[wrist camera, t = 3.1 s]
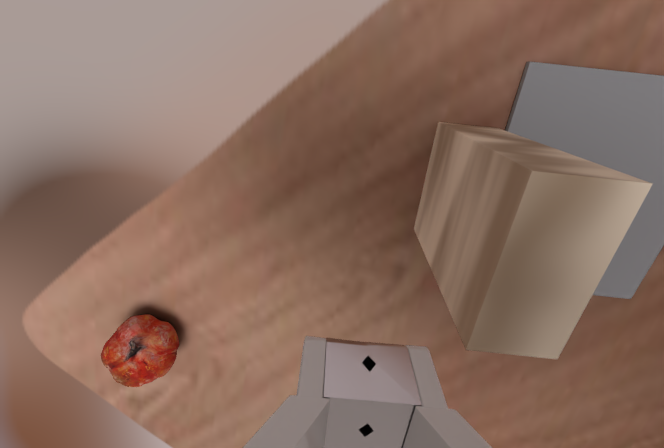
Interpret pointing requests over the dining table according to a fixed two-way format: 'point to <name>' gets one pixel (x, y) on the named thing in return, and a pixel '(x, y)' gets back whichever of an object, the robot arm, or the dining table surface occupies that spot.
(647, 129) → the mat
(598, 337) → the dining table surface
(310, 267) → the dining table surface
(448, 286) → the birch block
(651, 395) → the dining table surface
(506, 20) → the dining table surface
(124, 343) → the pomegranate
